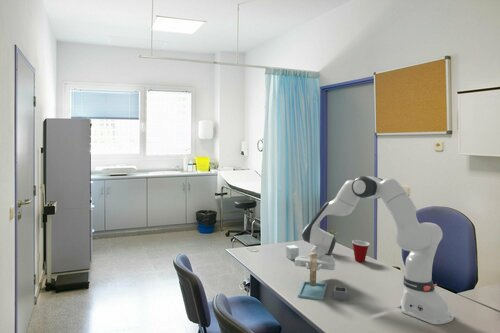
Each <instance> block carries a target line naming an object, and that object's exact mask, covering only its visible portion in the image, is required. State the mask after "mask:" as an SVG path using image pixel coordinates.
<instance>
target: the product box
mask: <svg viewBox="0 0 500 333" xmlns="http://www.w3.org/2000/svg"><path fill="white" fill-rule="evenodd" d="M285 249H286V250H285V252H286V253H285V257H286V258H287V259H288V260H295V259H296V258H297V257H298V256H300V255H299V254H300V251H299V249H300V248H299V246H297V245H295V244H293V245H291V244H290V245H286V247H285Z"/></svg>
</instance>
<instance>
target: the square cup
mask: <svg viewBox="0 0 500 333" xmlns="http://www.w3.org/2000/svg"><path fill="white" fill-rule="evenodd" d="M333 300H337V301H345V302H347V300H348V287H347V286H346V287H345V286H336V285H334V286H333Z"/></svg>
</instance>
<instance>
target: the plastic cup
mask: <svg viewBox="0 0 500 333" xmlns="http://www.w3.org/2000/svg"><path fill="white" fill-rule="evenodd" d="M351 242H352V243H351V244H352V247H353V255H354V261H355V262H357V263H365V261H366V257H367V253H368V249H369V246H370V242H368V241H365V240H360V239H355V240H354V239H353V240H352V241H351Z"/></svg>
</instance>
